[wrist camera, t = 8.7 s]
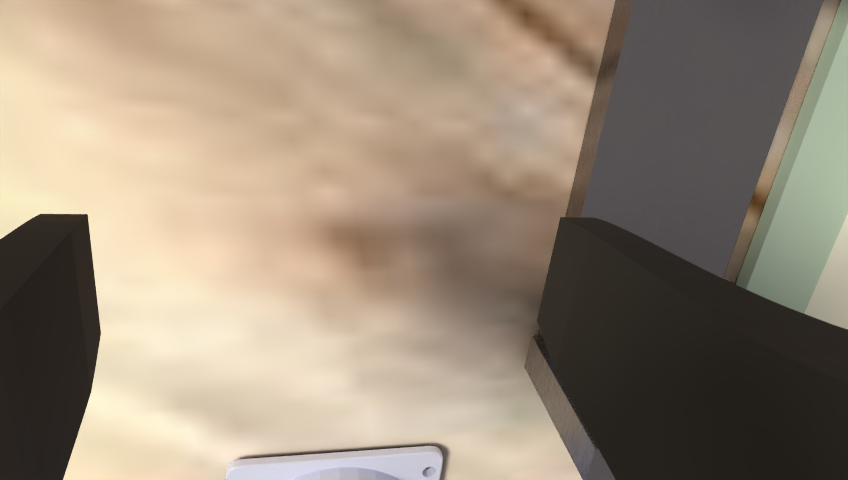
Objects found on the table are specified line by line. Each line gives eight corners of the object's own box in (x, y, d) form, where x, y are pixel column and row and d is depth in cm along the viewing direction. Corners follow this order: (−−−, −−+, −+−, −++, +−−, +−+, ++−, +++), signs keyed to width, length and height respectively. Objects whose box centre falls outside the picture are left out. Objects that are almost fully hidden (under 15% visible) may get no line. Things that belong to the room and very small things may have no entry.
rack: (684, 363, 29) (778, 479, 24) (517, 371, 27) (580, 497, 22) (860, -133, 21) (1061, -118, 16) (636, -166, 19) (780, -160, 14)
